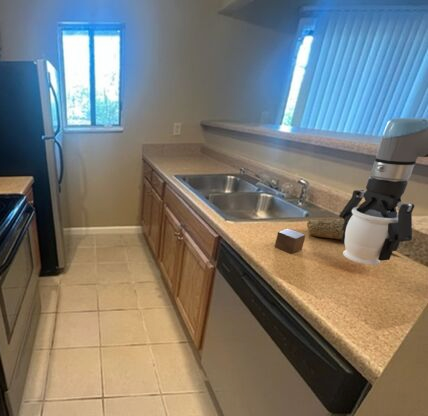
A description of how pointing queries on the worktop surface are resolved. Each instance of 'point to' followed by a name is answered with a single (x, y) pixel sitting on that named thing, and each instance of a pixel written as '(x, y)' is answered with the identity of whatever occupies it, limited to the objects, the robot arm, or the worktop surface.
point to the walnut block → (290, 241)
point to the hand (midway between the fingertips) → (363, 249)
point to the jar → (366, 236)
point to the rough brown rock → (326, 228)
